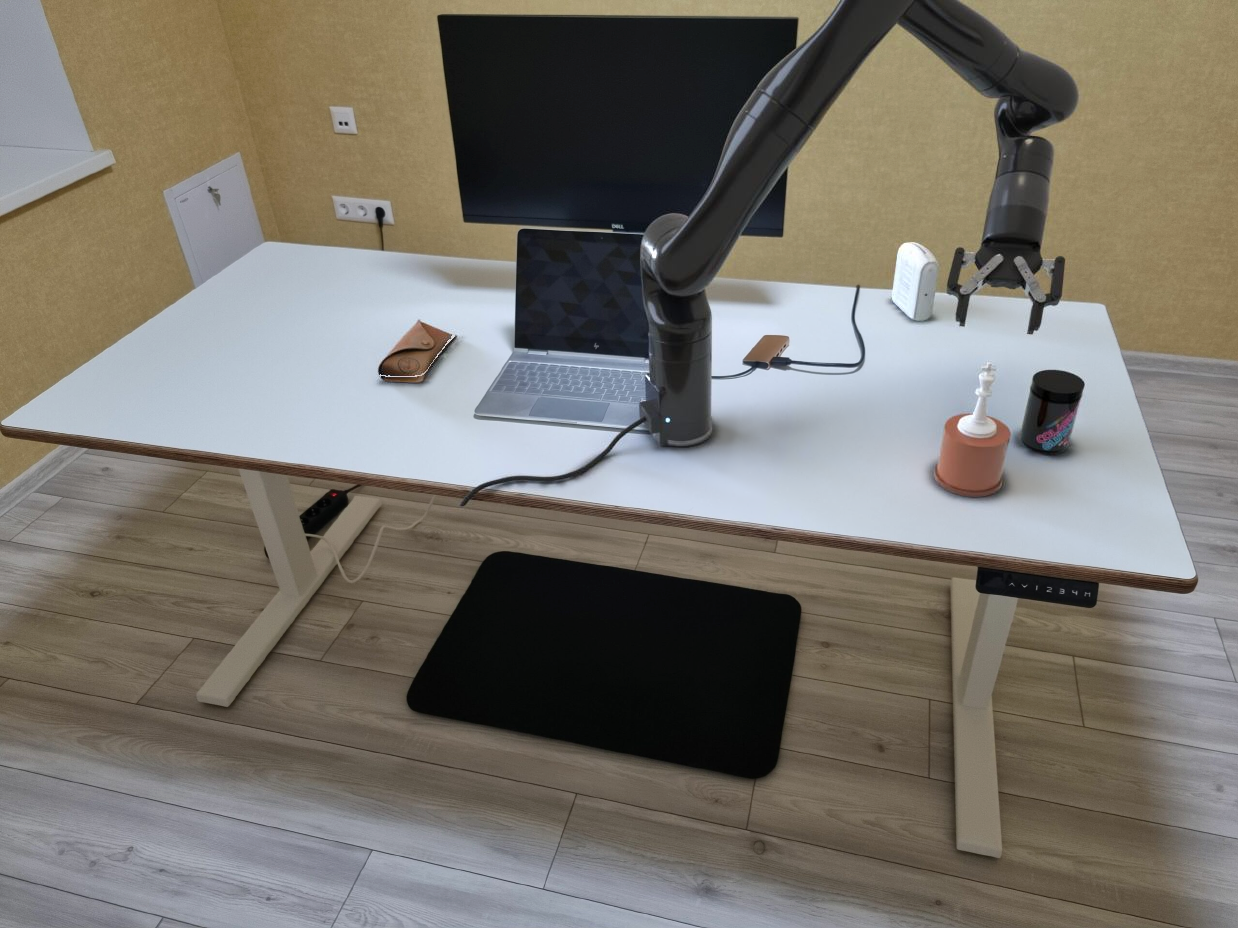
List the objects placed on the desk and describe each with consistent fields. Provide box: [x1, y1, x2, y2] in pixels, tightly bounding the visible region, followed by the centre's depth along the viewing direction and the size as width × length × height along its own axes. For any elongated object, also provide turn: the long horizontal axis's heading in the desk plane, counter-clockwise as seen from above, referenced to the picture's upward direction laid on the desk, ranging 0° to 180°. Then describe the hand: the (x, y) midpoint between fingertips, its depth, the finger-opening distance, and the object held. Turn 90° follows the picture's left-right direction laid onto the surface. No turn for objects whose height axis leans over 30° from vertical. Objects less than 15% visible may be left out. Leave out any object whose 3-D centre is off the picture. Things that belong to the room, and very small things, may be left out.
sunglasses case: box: [377, 318, 458, 384], centre depth 166 cm, size 18×7×7 cm
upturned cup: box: [933, 412, 1011, 498], centre depth 126 cm, size 9×9×8 cm
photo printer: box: [891, 241, 940, 322], centre depth 169 cm, size 10×4×12 cm, turn 11°
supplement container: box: [1019, 369, 1086, 456], centre depth 132 cm, size 7×7×10 cm
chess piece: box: [958, 361, 997, 438], centre depth 122 cm, size 5×5×10 cm
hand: (996, 328), depth 123 cm, fingers open, 8 cm apart
